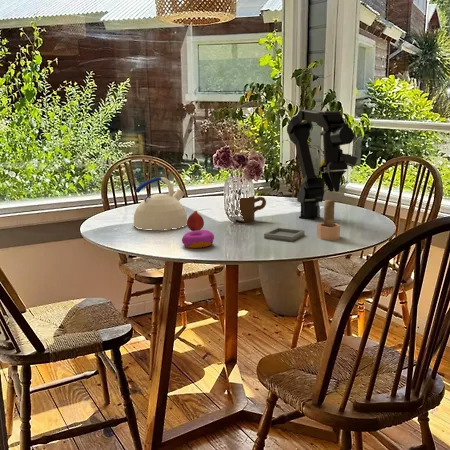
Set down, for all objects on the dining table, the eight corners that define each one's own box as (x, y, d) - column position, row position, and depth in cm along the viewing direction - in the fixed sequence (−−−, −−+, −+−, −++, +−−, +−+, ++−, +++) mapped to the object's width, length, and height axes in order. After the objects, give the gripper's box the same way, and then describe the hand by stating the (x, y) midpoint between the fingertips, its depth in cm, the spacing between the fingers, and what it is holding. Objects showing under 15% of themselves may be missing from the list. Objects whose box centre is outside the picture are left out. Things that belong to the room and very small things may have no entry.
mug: (265, 218, 205) (265, 194, 203) (266, 222, 198) (266, 197, 196) (234, 218, 205) (234, 194, 203) (234, 222, 198) (234, 198, 196)
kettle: (199, 225, 195) (198, 176, 191) (151, 234, 182) (148, 182, 178) (169, 217, 210) (167, 172, 206) (123, 224, 198) (120, 177, 194)
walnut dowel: (322, 237, 172) (323, 201, 169) (325, 235, 174) (326, 199, 172) (331, 238, 170) (332, 202, 168) (334, 236, 173) (335, 200, 170)
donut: (186, 241, 172) (186, 227, 171) (217, 242, 171) (217, 228, 170) (179, 249, 162) (178, 235, 161) (211, 250, 161) (211, 236, 160)
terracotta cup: (314, 239, 171) (315, 226, 170) (322, 235, 177) (322, 222, 176) (334, 242, 168) (335, 228, 167) (341, 237, 174) (342, 224, 173)
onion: (191, 235, 179) (190, 212, 177) (184, 232, 184) (183, 210, 182) (206, 233, 181) (206, 211, 180) (199, 230, 186) (199, 208, 185)
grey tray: (264, 239, 172) (264, 233, 172) (277, 233, 181) (277, 227, 180) (292, 243, 167) (292, 237, 167) (304, 236, 176) (304, 230, 175)
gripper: (361, 143, 175) (364, 190, 176) (348, 147, 194) (350, 190, 195) (328, 145, 175) (330, 192, 176) (318, 149, 194) (320, 192, 195)
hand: (334, 191), depth 185 cm, fingers open, 9 cm apart
